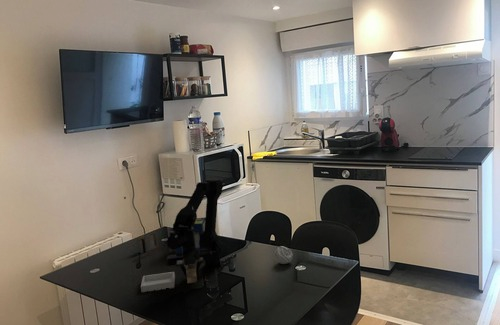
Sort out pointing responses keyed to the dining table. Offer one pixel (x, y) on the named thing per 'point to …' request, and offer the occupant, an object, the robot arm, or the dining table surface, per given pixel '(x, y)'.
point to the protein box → (195, 234)
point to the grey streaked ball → (283, 255)
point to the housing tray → (158, 281)
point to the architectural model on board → (147, 242)
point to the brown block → (191, 273)
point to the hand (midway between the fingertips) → (191, 277)
